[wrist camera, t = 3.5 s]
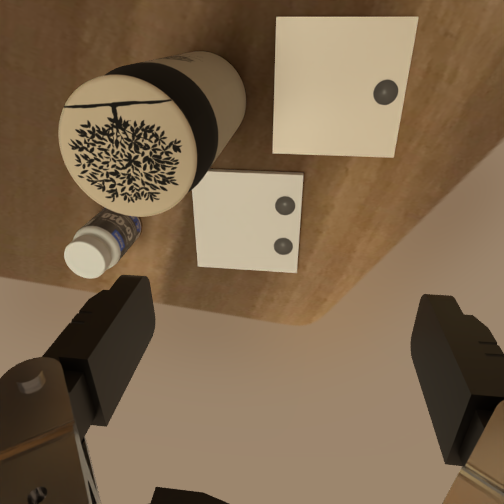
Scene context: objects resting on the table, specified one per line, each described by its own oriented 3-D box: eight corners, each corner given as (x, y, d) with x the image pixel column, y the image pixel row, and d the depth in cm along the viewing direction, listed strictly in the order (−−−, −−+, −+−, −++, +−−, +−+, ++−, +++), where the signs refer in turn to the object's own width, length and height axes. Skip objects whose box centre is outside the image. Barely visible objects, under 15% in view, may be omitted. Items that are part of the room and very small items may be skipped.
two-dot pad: (192, 168, 40) (190, 171, 39) (303, 172, 39) (303, 175, 38) (199, 262, 45) (197, 266, 44) (297, 269, 44) (296, 273, 43)
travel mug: (244, 147, 38) (199, 229, 23) (163, 138, 39) (65, 213, 23) (249, 55, 34) (200, 77, 19) (159, 47, 35) (38, 62, 19)
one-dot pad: (276, 17, 33) (276, 16, 32) (416, 16, 31) (419, 16, 31) (273, 151, 38) (272, 153, 37) (392, 155, 37) (393, 157, 36)
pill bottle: (150, 223, 43) (119, 262, 36) (127, 249, 45) (92, 291, 38) (115, 193, 42) (75, 228, 35) (92, 221, 44) (50, 259, 37)
